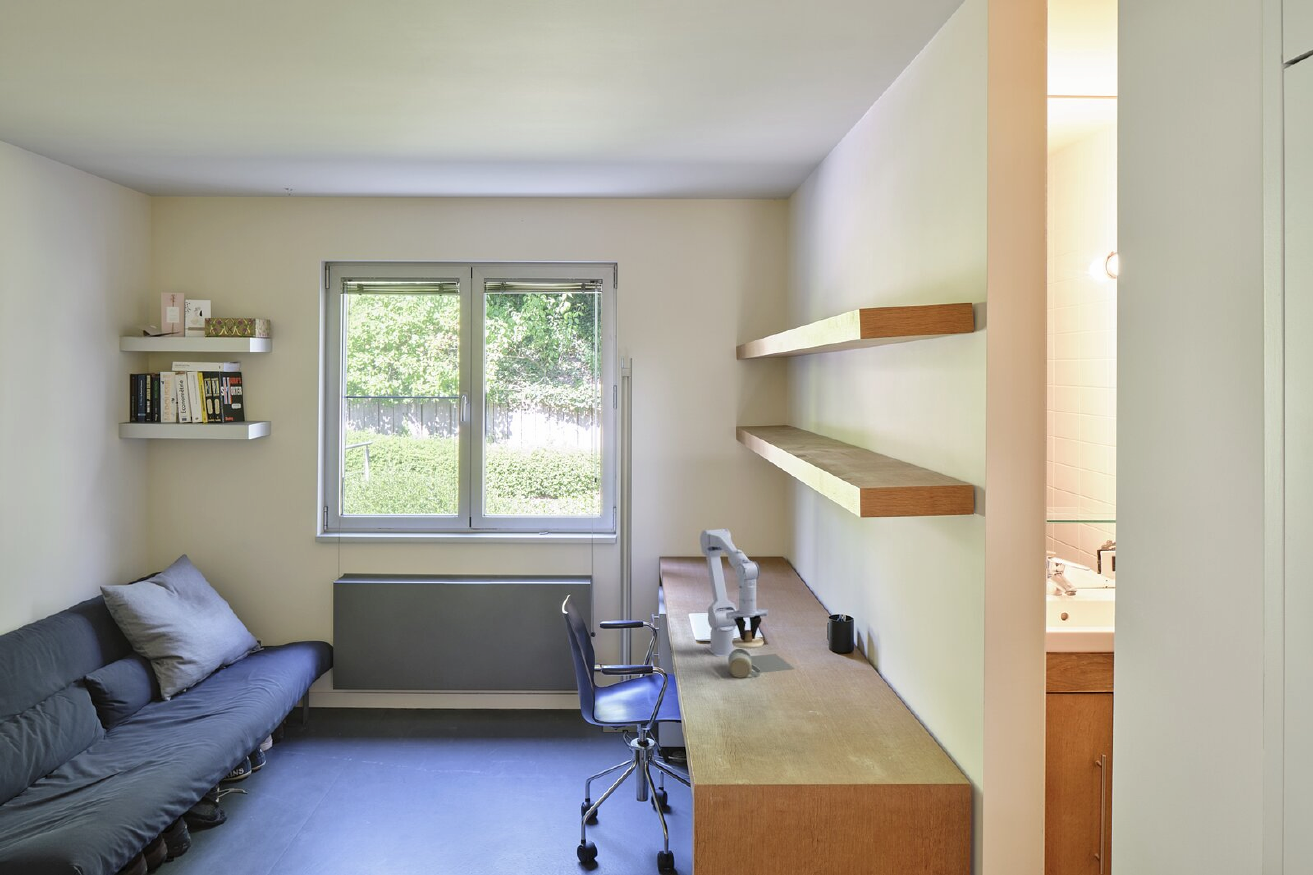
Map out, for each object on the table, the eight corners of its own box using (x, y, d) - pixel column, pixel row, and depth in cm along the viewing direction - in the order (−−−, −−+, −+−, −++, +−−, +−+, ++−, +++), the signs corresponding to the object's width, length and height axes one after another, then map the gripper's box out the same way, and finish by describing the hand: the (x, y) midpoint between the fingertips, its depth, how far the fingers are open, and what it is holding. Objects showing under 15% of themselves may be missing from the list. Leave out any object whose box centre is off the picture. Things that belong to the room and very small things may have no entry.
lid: (727, 640, 277) (727, 628, 277) (756, 637, 280) (756, 625, 280) (739, 650, 267) (738, 637, 267) (768, 646, 270) (768, 633, 270)
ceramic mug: (729, 679, 265) (729, 656, 264) (728, 670, 273) (728, 648, 272) (762, 680, 264) (762, 657, 264) (760, 671, 272) (760, 648, 272)
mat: (743, 658, 285) (743, 656, 285) (775, 654, 288) (775, 653, 288) (761, 673, 270) (761, 672, 270) (794, 670, 273) (794, 668, 273)
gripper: (731, 603, 267) (731, 644, 268) (772, 600, 271) (772, 640, 271) (723, 598, 274) (724, 638, 274) (764, 594, 277) (764, 634, 278)
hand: (747, 638), depth 273 cm, fingers closed on lid, 3 cm apart
